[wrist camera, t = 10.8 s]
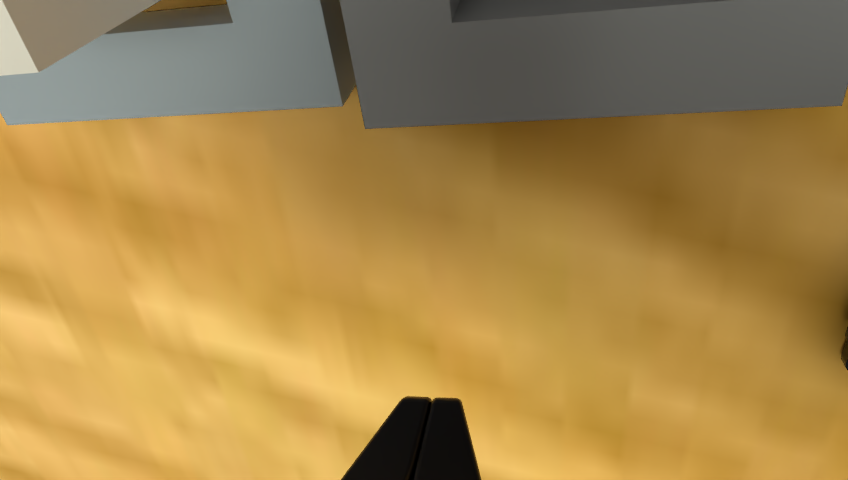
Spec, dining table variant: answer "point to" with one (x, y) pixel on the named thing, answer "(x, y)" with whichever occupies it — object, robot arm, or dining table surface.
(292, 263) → the dining table surface
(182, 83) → the low dock
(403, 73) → the raised dock
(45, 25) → the plug
